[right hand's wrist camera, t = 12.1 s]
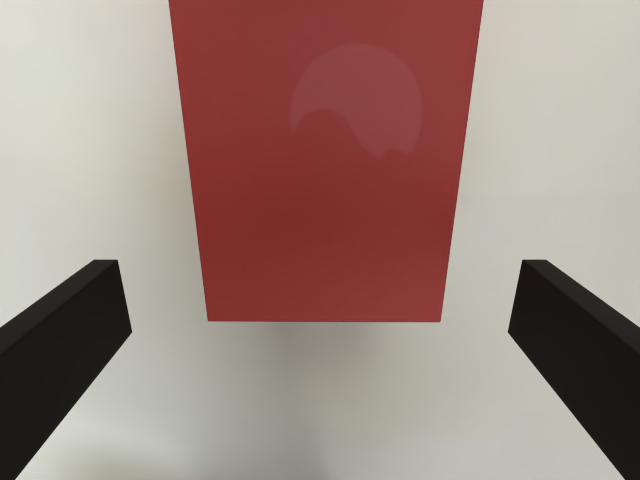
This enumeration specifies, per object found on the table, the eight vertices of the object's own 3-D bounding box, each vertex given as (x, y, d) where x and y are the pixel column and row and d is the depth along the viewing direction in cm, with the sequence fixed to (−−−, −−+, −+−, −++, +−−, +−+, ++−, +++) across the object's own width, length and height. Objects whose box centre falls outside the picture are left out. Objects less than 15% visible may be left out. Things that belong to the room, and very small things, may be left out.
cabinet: (231, -48, 22) (145, -178, 11) (418, -48, 22) (508, -179, 11) (250, 235, 28) (207, 322, 18) (396, 235, 28) (440, 323, 18)
